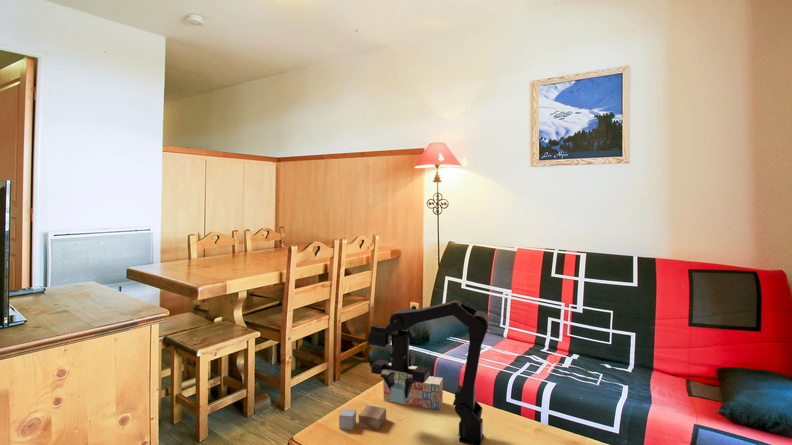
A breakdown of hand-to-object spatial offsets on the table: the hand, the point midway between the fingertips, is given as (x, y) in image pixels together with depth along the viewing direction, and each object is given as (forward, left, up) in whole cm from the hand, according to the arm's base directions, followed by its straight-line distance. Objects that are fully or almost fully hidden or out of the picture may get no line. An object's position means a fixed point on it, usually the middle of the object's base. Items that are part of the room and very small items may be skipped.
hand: (399, 396), depth 130 cm
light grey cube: (+16, +6, -10) cm, 20 cm away
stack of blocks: (+2, -18, -10) cm, 21 cm away
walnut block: (+9, +2, -10) cm, 14 cm away
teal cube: (0, 0, -1) cm, 1 cm away
